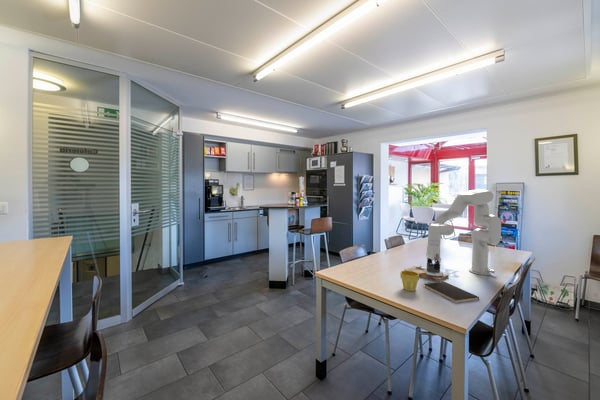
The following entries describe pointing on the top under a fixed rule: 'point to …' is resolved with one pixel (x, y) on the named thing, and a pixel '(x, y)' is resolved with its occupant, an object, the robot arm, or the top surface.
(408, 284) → the plant pot
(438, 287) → the hardcover book
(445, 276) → the levelling base
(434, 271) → the cam dial
